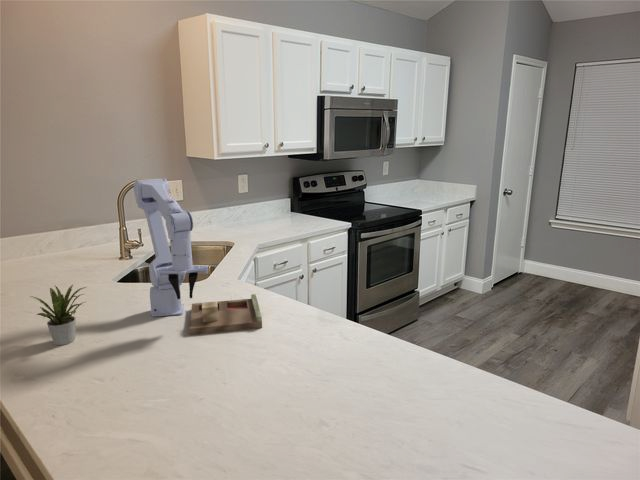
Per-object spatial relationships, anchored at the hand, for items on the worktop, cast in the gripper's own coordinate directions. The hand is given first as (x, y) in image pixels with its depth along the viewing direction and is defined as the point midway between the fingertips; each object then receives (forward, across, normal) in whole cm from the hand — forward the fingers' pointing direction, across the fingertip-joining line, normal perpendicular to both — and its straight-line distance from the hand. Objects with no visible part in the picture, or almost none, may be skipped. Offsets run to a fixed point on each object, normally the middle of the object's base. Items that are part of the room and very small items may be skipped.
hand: (185, 297), depth 135 cm
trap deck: (+9, +12, +4) cm, 15 cm away
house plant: (+10, -32, -2) cm, 33 cm away
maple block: (+7, +7, 0) cm, 10 cm away
